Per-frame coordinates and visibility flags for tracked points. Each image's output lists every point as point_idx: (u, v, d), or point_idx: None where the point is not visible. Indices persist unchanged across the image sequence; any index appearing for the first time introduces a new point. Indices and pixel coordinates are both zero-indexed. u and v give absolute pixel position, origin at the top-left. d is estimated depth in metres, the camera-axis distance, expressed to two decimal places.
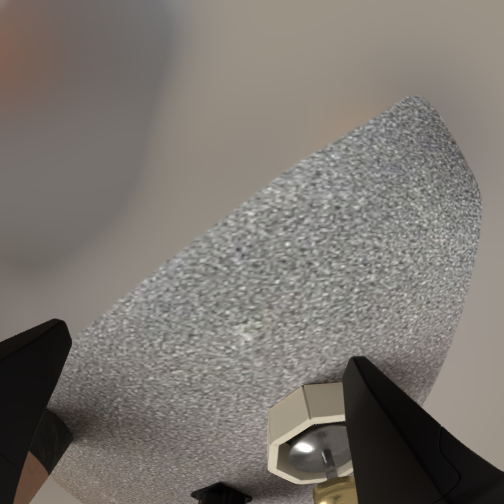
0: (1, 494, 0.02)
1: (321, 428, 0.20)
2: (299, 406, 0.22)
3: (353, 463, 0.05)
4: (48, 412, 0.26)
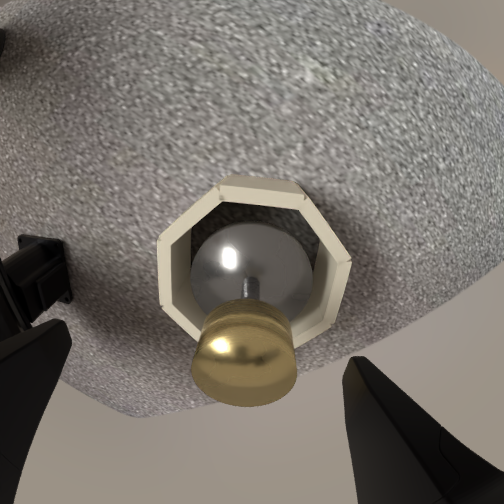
0: (1, 494, 0.02)
1: (290, 235, 0.15)
2: (286, 185, 0.16)
3: (353, 463, 0.05)
4: (2, 33, 0.11)
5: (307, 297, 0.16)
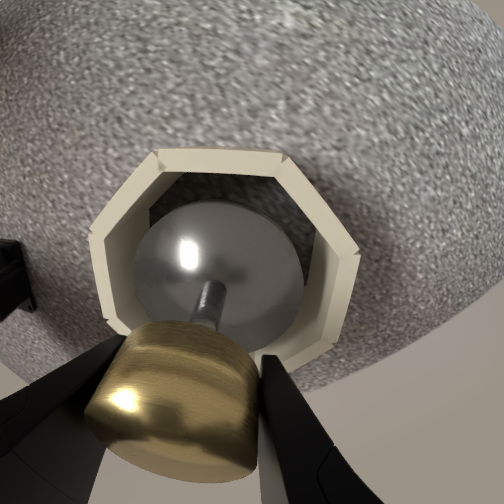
0: None
1: (266, 218, 0.10)
2: None
3: None
4: None
5: (297, 308, 0.11)
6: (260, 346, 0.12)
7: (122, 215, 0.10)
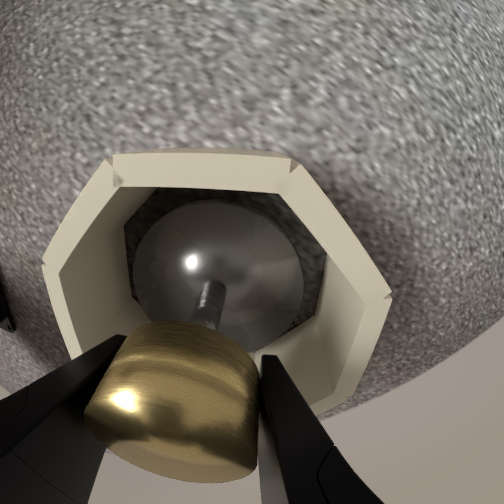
0: None
1: (266, 218, 0.10)
2: (260, 152, 0.08)
3: None
4: None
5: (296, 308, 0.11)
6: (260, 346, 0.12)
7: (75, 244, 0.07)
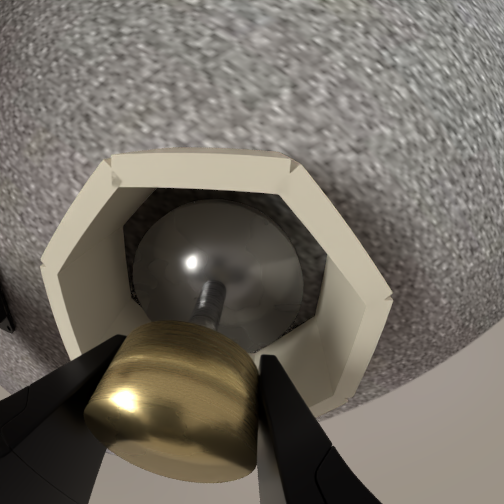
0: None
1: (266, 218, 0.10)
2: (259, 152, 0.08)
3: (257, 467, 0.05)
4: None
5: (296, 308, 0.11)
6: (259, 346, 0.12)
7: (74, 245, 0.07)
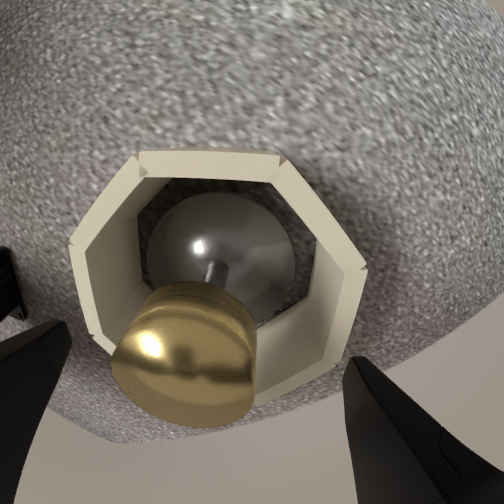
0: (1, 494, 0.02)
1: (262, 206, 0.12)
2: (257, 151, 0.10)
3: (353, 463, 0.05)
4: None
5: (289, 285, 0.13)
6: (258, 321, 0.14)
7: (102, 226, 0.09)
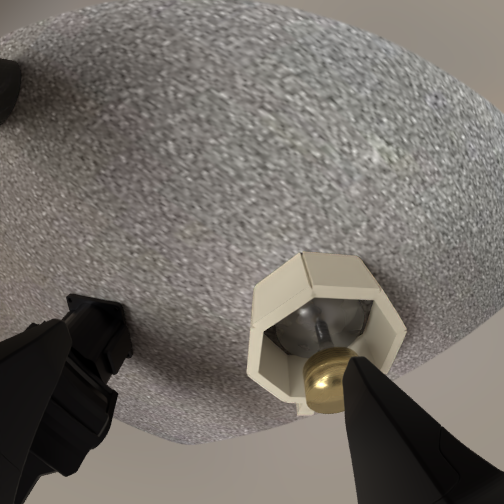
0: (1, 494, 0.02)
1: None
2: (358, 271, 0.17)
3: (353, 463, 0.05)
4: (17, 67, 0.14)
5: (359, 331, 0.21)
6: None
7: (281, 318, 0.16)
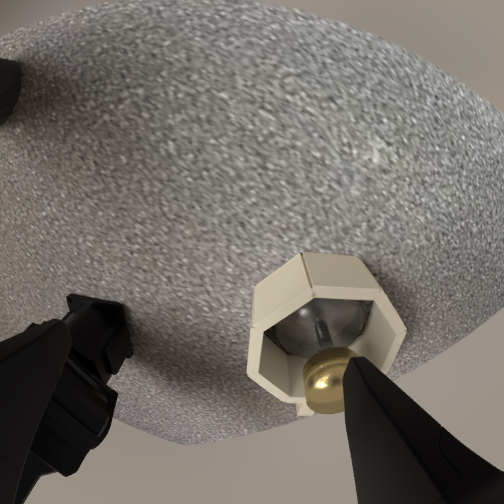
0: (1, 494, 0.02)
1: None
2: (359, 271, 0.17)
3: (353, 463, 0.05)
4: (17, 67, 0.14)
5: (358, 332, 0.21)
6: None
7: (281, 319, 0.16)
